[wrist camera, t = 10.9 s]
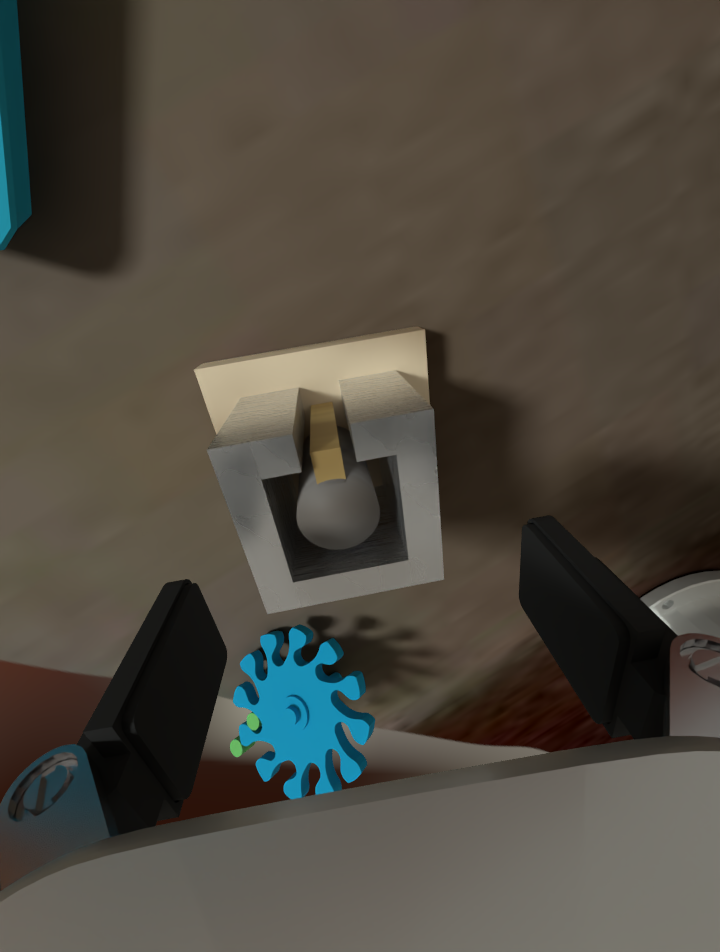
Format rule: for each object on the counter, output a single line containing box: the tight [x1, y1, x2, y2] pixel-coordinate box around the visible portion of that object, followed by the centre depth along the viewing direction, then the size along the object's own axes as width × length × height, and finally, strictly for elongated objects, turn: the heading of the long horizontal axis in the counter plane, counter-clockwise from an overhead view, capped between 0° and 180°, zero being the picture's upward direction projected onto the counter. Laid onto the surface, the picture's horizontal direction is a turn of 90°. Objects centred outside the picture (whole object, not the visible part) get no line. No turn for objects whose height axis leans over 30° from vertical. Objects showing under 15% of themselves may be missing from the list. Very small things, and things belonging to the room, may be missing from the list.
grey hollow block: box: [207, 370, 444, 614], centre depth 16 cm, size 7×7×6 cm
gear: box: [230, 624, 375, 799], centre depth 25 cm, size 11×6×10 cm
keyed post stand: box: [194, 326, 430, 550], centre depth 17 cm, size 10×10×7 cm
